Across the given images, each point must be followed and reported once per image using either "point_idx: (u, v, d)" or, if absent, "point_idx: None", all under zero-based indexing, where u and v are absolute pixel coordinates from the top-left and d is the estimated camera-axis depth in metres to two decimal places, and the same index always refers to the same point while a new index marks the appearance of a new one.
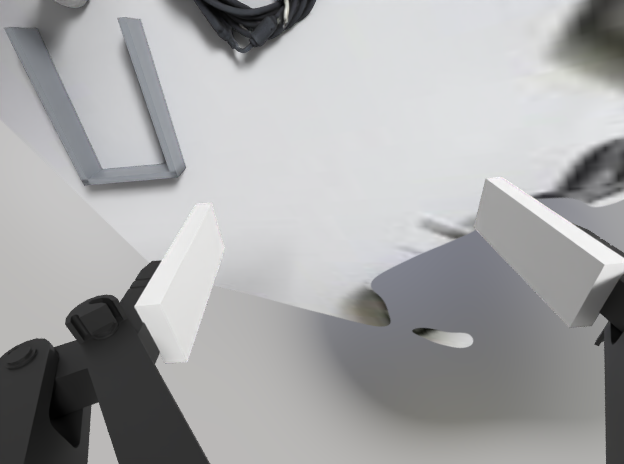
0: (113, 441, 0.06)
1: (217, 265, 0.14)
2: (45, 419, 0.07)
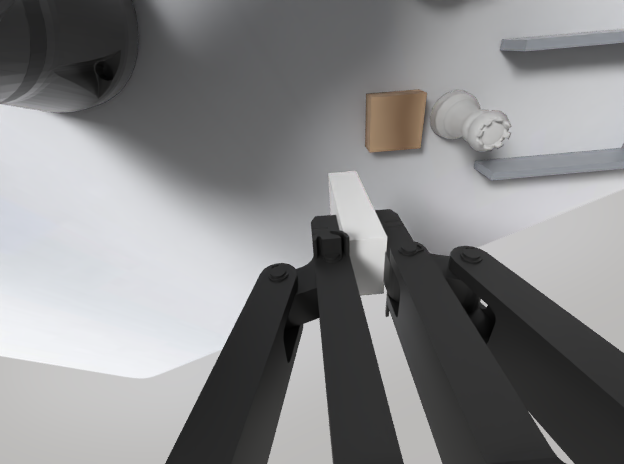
0: (322, 338, 0.08)
1: None
2: (282, 332, 0.08)
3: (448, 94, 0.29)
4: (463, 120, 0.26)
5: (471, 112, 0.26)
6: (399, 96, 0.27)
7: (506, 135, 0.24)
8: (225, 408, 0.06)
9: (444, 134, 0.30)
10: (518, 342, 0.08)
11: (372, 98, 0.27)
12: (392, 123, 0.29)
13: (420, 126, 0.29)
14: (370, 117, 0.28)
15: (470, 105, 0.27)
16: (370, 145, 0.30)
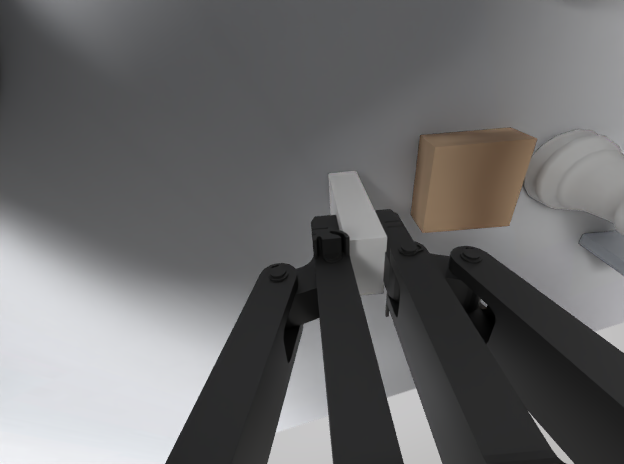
0: (322, 337, 0.08)
1: None
2: (282, 332, 0.08)
3: (564, 136, 0.17)
4: (616, 194, 0.14)
5: None
6: (486, 145, 0.15)
7: None
8: (225, 408, 0.06)
9: (552, 203, 0.17)
10: (518, 342, 0.08)
11: (437, 148, 0.15)
12: (467, 189, 0.16)
13: (515, 193, 0.17)
14: (429, 178, 0.16)
15: (620, 162, 0.15)
16: (425, 222, 0.17)
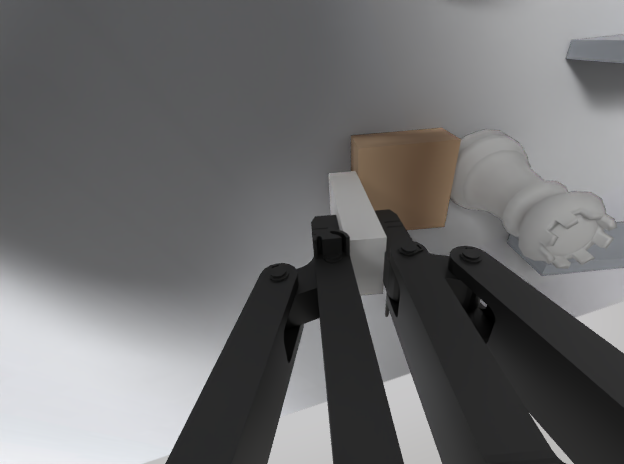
0: (323, 338, 0.08)
1: None
2: (282, 332, 0.08)
3: (471, 137, 0.16)
4: (505, 196, 0.14)
5: (521, 182, 0.13)
6: (410, 146, 0.15)
7: (603, 242, 0.11)
8: (226, 408, 0.06)
9: (463, 204, 0.17)
10: (518, 342, 0.08)
11: (360, 149, 0.15)
12: (397, 190, 0.16)
13: (446, 194, 0.16)
14: None
15: (515, 163, 0.15)
16: None
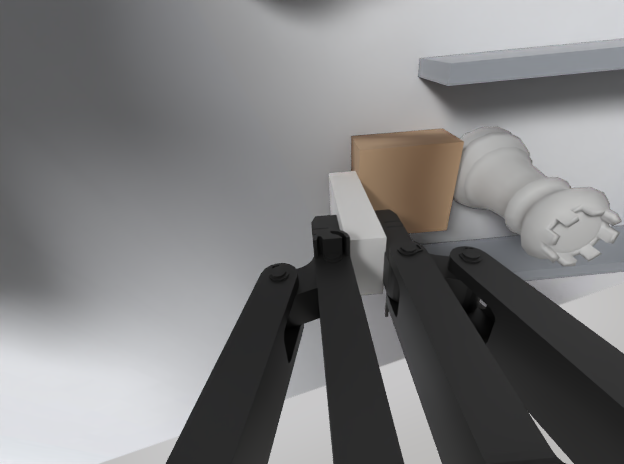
0: (323, 337, 0.08)
1: None
2: (282, 332, 0.08)
3: (469, 135, 0.16)
4: (505, 195, 0.14)
5: (520, 180, 0.13)
6: (412, 148, 0.15)
7: (609, 237, 0.11)
8: (226, 408, 0.06)
9: (467, 203, 0.17)
10: (517, 342, 0.08)
11: (361, 151, 0.15)
12: (398, 193, 0.16)
13: (448, 197, 0.16)
14: None
15: (515, 159, 0.14)
16: None
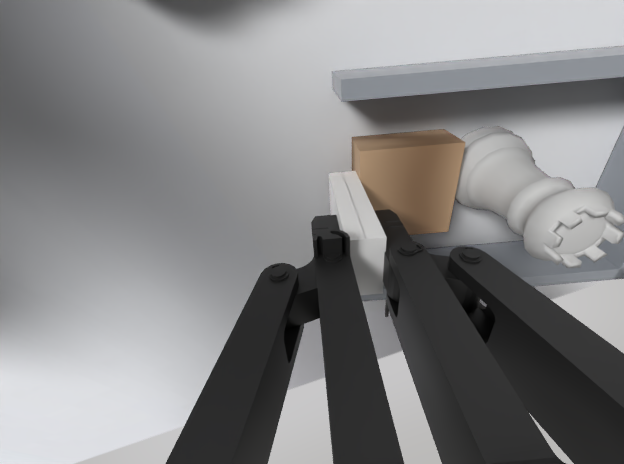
0: (323, 337, 0.08)
1: None
2: (282, 332, 0.08)
3: (470, 136, 0.16)
4: (507, 196, 0.13)
5: (522, 181, 0.13)
6: (413, 149, 0.14)
7: (614, 238, 0.11)
8: (226, 408, 0.06)
9: (469, 205, 0.17)
10: (517, 342, 0.08)
11: (362, 152, 0.14)
12: (399, 194, 0.16)
13: (450, 198, 0.16)
14: None
15: (516, 160, 0.14)
16: None
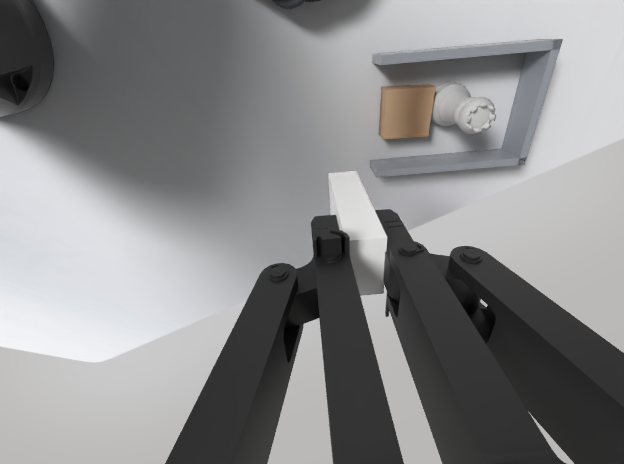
0: (322, 337, 0.08)
1: None
2: (282, 332, 0.08)
3: (440, 87, 0.33)
4: (454, 109, 0.30)
5: (460, 101, 0.29)
6: (411, 89, 0.31)
7: (492, 117, 0.27)
8: (225, 408, 0.06)
9: (441, 122, 0.33)
10: (518, 342, 0.08)
11: (387, 90, 0.31)
12: (404, 113, 0.32)
13: (428, 116, 0.33)
14: (385, 107, 0.32)
15: (460, 94, 0.31)
16: (384, 132, 0.33)
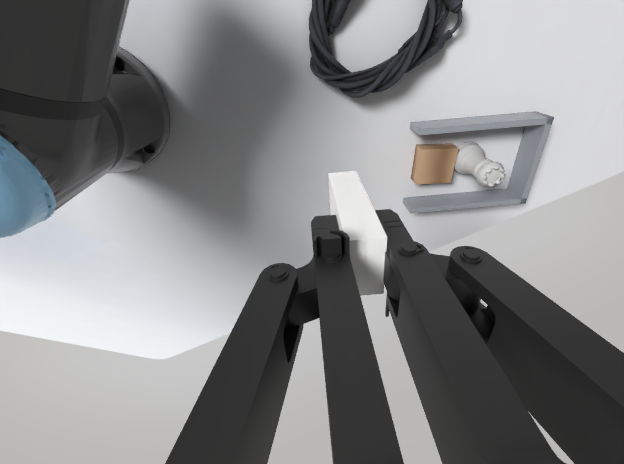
0: (322, 338, 0.08)
1: None
2: (281, 332, 0.08)
3: (461, 145, 0.42)
4: (473, 166, 0.40)
5: (477, 161, 0.39)
6: (440, 149, 0.41)
7: (502, 176, 0.37)
8: (225, 408, 0.06)
9: (461, 172, 0.43)
10: (518, 342, 0.08)
11: (422, 150, 0.41)
12: (433, 166, 0.42)
13: (452, 168, 0.43)
14: (419, 161, 0.42)
15: (477, 154, 0.40)
16: (417, 179, 0.43)
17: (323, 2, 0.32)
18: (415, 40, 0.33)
